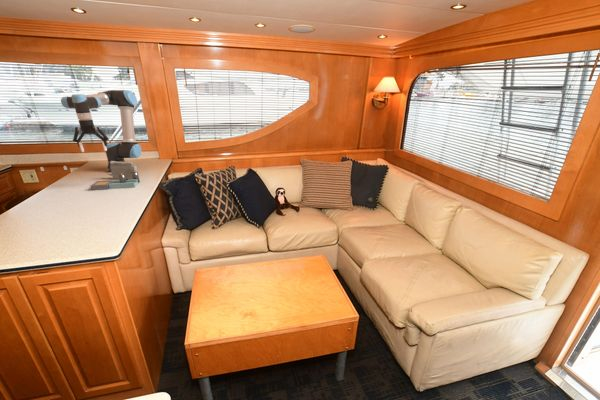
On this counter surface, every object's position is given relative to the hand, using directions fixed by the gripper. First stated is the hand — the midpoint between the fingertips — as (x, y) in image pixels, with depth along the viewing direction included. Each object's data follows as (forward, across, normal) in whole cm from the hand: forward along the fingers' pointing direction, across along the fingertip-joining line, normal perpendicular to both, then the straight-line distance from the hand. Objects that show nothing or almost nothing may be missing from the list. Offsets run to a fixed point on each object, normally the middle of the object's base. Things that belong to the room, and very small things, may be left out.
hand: (94, 151), depth 188 cm
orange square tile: (+22, +1, -6) cm, 23 cm away
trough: (+25, +14, -7) cm, 30 cm away
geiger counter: (+26, +8, +13) cm, 30 cm away
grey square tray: (+25, +1, -6) cm, 26 cm away
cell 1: (+24, +15, -7) cm, 29 cm away
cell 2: (+25, +21, +1) cm, 33 cm away
